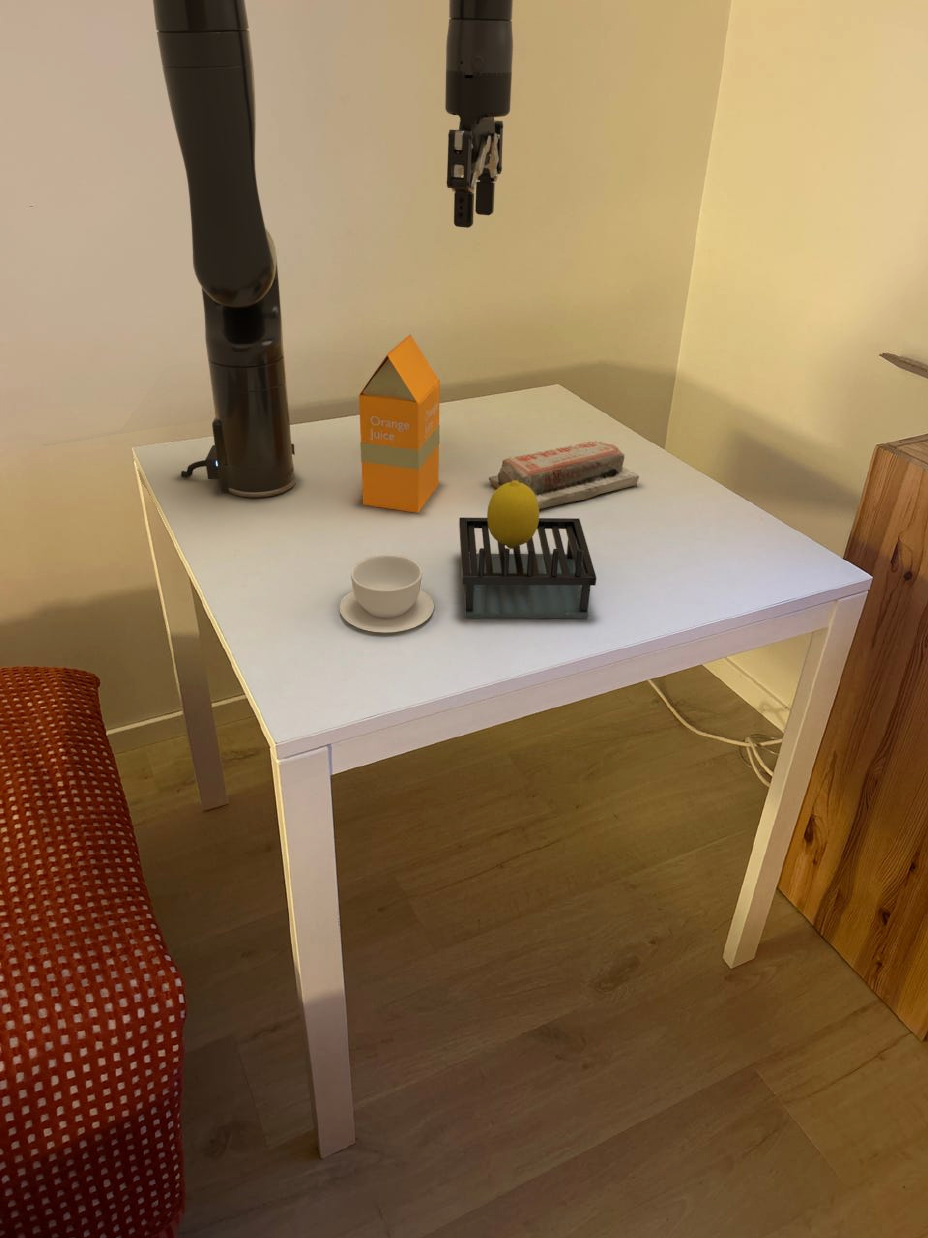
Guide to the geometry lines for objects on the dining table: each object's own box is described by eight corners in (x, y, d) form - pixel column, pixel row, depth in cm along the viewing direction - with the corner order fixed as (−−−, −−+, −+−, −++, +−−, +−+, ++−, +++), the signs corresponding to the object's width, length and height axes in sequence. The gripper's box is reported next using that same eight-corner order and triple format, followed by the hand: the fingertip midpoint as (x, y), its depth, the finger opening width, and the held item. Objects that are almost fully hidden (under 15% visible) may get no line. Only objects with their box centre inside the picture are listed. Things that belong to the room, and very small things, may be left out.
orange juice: (439, 485, 125) (441, 336, 114) (419, 513, 118) (418, 357, 107) (384, 477, 127) (381, 329, 116) (361, 504, 119) (355, 350, 108)
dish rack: (461, 619, 98) (463, 551, 93) (458, 556, 109) (459, 493, 104) (591, 619, 98) (599, 551, 94) (575, 557, 109) (582, 494, 105)
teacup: (451, 618, 98) (452, 580, 95) (367, 646, 93) (365, 607, 91) (404, 576, 105) (403, 540, 102) (324, 600, 100) (321, 563, 97)
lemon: (542, 541, 102) (547, 474, 98) (528, 564, 98) (533, 496, 94) (494, 532, 104) (497, 466, 99) (479, 555, 99) (481, 487, 95)
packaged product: (531, 480, 116) (489, 451, 123) (528, 514, 118) (487, 485, 125) (643, 453, 123) (598, 428, 130) (639, 486, 126) (594, 460, 133)
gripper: (466, 63, 112) (463, 208, 121) (426, 67, 100) (425, 227, 109) (527, 66, 110) (518, 213, 119) (492, 71, 98) (486, 233, 107)
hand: (474, 220), depth 114 cm, fingers open, 8 cm apart
